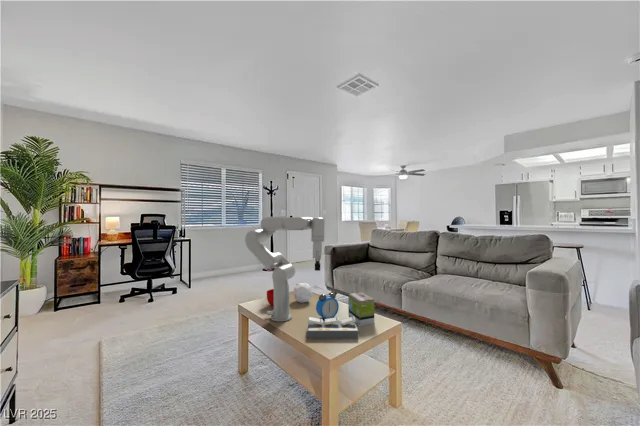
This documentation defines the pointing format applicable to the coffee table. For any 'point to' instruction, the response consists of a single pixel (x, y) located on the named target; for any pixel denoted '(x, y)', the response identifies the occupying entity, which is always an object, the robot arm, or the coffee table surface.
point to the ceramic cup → (270, 297)
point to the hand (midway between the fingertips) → (317, 270)
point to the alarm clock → (327, 306)
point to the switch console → (332, 331)
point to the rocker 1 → (315, 320)
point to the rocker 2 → (331, 320)
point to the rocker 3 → (348, 320)
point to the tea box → (361, 308)
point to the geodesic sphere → (302, 292)
